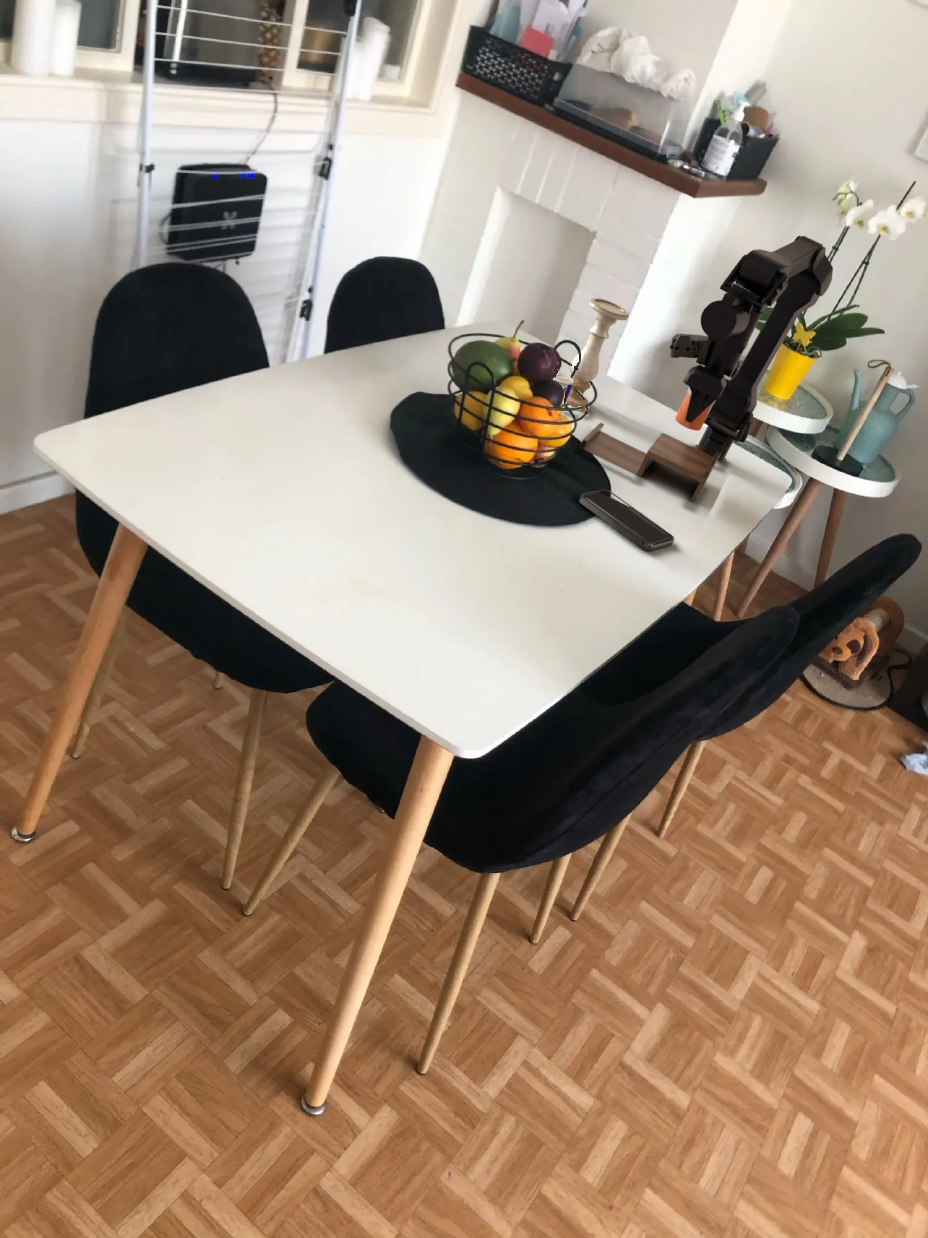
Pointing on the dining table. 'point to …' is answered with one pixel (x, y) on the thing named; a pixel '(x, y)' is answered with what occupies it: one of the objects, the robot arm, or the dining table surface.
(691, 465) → the step rack
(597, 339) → the candle holder
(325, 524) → the dining table surface
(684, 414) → the spice jar
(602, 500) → the phone
